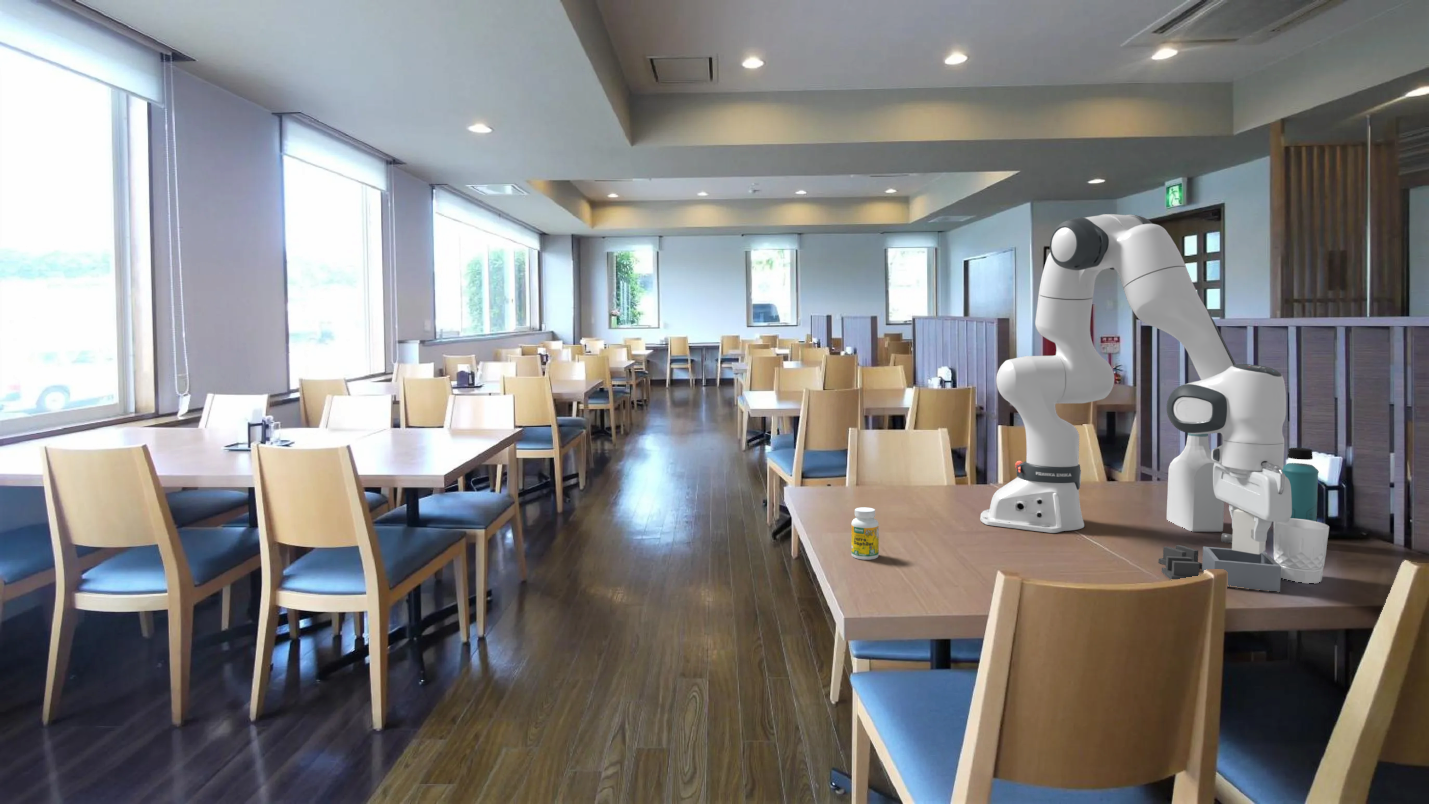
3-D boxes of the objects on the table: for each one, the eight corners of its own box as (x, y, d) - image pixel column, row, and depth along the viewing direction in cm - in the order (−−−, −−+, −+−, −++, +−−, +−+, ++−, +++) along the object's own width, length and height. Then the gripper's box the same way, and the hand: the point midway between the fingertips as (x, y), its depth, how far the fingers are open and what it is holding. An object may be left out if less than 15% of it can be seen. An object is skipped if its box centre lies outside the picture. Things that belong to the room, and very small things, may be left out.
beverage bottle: (1322, 547, 156) (1328, 450, 154) (1286, 546, 157) (1291, 450, 156) (1305, 539, 162) (1310, 446, 161) (1269, 537, 164) (1274, 445, 162)
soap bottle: (1231, 532, 168) (1237, 408, 166) (1192, 532, 169) (1198, 408, 167) (1202, 520, 179) (1208, 404, 177) (1166, 520, 180) (1171, 404, 177)
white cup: (1259, 572, 141) (1262, 518, 140) (1299, 570, 141) (1302, 517, 141) (1295, 585, 133) (1298, 529, 132) (1337, 584, 134) (1341, 528, 133)
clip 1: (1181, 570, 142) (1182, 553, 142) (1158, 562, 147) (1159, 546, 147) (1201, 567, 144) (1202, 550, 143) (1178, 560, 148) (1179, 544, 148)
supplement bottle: (879, 553, 155) (880, 507, 154) (877, 561, 150) (877, 513, 149) (852, 551, 156) (853, 505, 156) (849, 559, 151) (849, 511, 151)
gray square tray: (1213, 585, 133) (1214, 560, 133) (1202, 570, 142) (1203, 546, 142) (1279, 592, 130) (1281, 566, 129) (1263, 575, 138) (1265, 551, 138)
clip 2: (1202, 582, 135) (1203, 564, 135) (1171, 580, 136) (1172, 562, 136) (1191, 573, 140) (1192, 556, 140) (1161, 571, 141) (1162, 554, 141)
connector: (1218, 547, 136) (1220, 509, 136) (1225, 543, 139) (1227, 505, 138) (1258, 554, 132) (1260, 514, 131) (1265, 550, 135) (1267, 511, 134)
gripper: (1306, 467, 123) (1301, 552, 124) (1244, 449, 143) (1241, 522, 144) (1262, 466, 124) (1258, 550, 125) (1207, 449, 144) (1204, 521, 145)
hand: (1248, 535), depth 135 cm, fingers closed on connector, 6 cm apart
